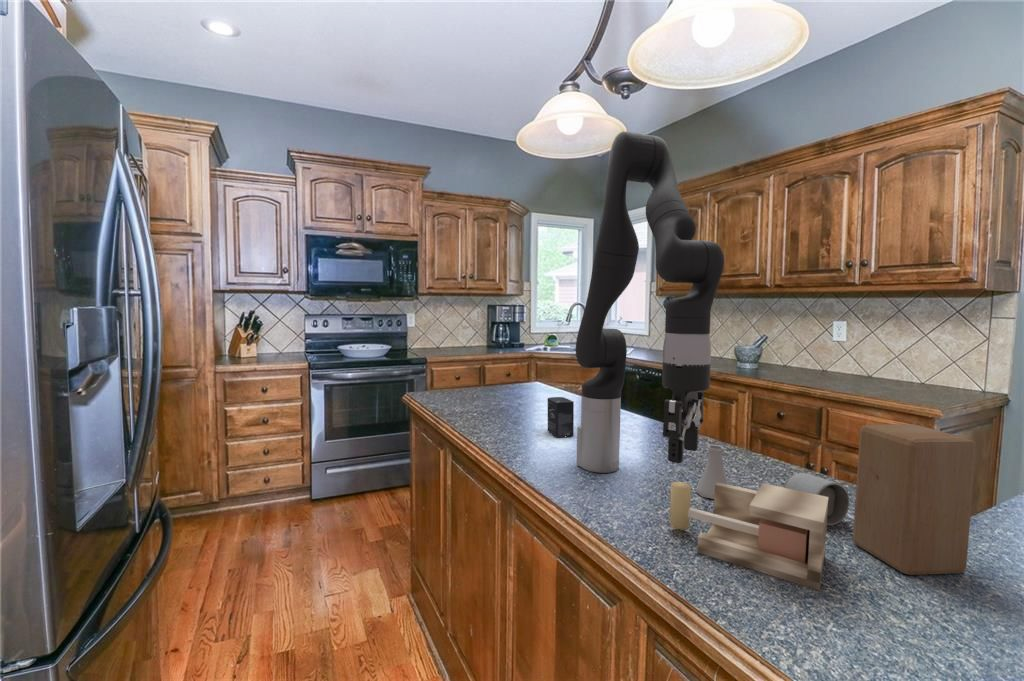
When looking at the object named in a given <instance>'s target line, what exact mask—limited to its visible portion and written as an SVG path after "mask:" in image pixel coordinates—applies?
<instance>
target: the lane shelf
mask: <svg viewBox="0 0 1024 681" xmlns="http://www.w3.org/2000/svg"><path fill="white" fill-rule="evenodd" d="M713 500H714V501H713V514H717V515H721V516H725V517H729V518H732V519H736V520H740V521H744V522H748V523H752V524H755V525H759V522H760V520H761V518H763V519H767V520H771V521H775V522H779V523H783V524H787V525H791V526H795V527H799V528H803V529H807V530H810V535H809V551H808V556H807V560H806V564H805V563H802V562H799V561H795V560H792V559H788V558H785V557H781V556H778V555H774V554H771V553H767V552H764V551H760V550H758V537H759V536H756V535H753V534H749V533H745V532H742V531H738V530H734V529H731V528H727V527H723V526H720V525H716V524H712V525H711V526H710V528H709V530H708V531H707V532H706V533H699V535H698V536H697V546H696V547H697V550H696V552H697V553H698V554H701V555H705V556H707V557H710V558H714V559H717V560H721V561H724V562H727V563H730V564H733V565H736V566H740V567H742V568H745V569H750V570H753V571H755V572H758V573H762V574H765V575H769V576H772V577H775V578H777V579H781V580H784V581H788V582H790V583H794V584H798V585H800V586H804V587H806V588H810V589H813V590H817V591H820V590H821V582H822V576H823V573H824V572H823V570H824V564H825V558H826V545H827V544H826V543H827V530H828V529H827V528H828V525H827V514H828V497H826V496H821V495H816V494H812V493H807V492H802V491H797V490H793V489H788V488H784V487H783V486H778V485H774V484H773V485H772V484H769V483H762V484H761V486H760V487H759V489H758V490H754V489H749V488H744V487H741V486H737V485H731V484H729V485H728V484H723V483H719V482H717V483H716V484H715V494H714V499H713Z"/></svg>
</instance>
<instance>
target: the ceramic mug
mask: <svg viewBox="0 0 1024 681" xmlns="http://www.w3.org/2000/svg"><path fill="white" fill-rule="evenodd" d="M783 488H788V489H793V490H797V491H802V492H807V493H812V494H816V495H821V496H826V497H828V514H827V527H829V526H836V525H838V524H840V523H841V522H842V521H843V520H844V519H845V517H846V516H847V514H848V512H849V510H850V509H849V507H850V495H849V493H848V491H847V490H846V488H845V487H844V486H843V485H842V484H840V483H838V482H835V481H833V480H832V481H831V480H830V479H826V478H822V477H819V476H816V475H814V474H810V473H804V472H798V473H794V474H793V475H791V476H790V477H788V479H787V480H786V482H785V484H784V487H783Z"/></svg>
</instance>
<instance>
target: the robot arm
mask: <svg viewBox="0 0 1024 681" xmlns="http://www.w3.org/2000/svg"><path fill="white" fill-rule="evenodd" d="M672 160H673V159H672V156H671V153H670V149H669V147H668V145H667V143H666V141H665V140H664V139H663V138H662V137H659V136H656V135H652V134H644V133H639V132H634V131H633V132H632V131H621V132H619V133H617V135H616V136H615V138H614V139H613V142H612V144H611V147H610V150H609V156H608V163H607V172H606V180H605V181H606V182H605V192H604V198H603V199H604V201H603V209H602V215H601V220H600V221H601V222H600V226H599V231H598V236H597V241H596V245H595V249H594V250H595V252H594V256H593V262H592V270H591V277H590V281H589V287H588V293H587V298H586V301H585V302H586V303H585V306H584V310H583V312H582V313H583V314H582V318H581V321H580V325H579V328H578V332H577V335H576V342H575V357H576V358H575V359H576V362H577V363H578V365H580V366H581V367H582V368H586V369H596V368H597V369H599V370H598V373H597V374H596V375H595V376H593V377H592V378H590V379H589V380H586V381H585V382H583V383H582V386H581V404H580V406H581V408H580V409H581V410H580V414H581V415H580V425H578V426H577V429H576V430H577V432H576V435H577V436H576V463H575V464H576V467H577V466H578V467H580V468H582V469H583V470H586V471H589V472H593V473H598V474H599V473H606V474H607V473H614V472H617V471H618V470H619V468H620V443H621V441H620V438H621V411H622V410H621V408H622V407H621V406H622V401H621V399H622V390H623V387H624V385H625V377H626V376H625V374H626V365H627V364H626V363H627V347H628V346H627V341H626V340H627V339H626V338H625V335H624V333H623V332H622V331H621V330H619V329H618V328H604V325H605V322H606V318H607V316H608V314H609V311H610V309H612V307H613V305H615V304H614V303H616V301H617V300H618V299H619V297H621V295H622V294H623V293H624V291H625V290H626V289H627V287H628V286H629V285H630V283H631V281H632V280H633V277H634V274H635V271H636V270H635V269H636V267H637V261H638V256H639V250H640V246H639V240H638V236H637V233H636V231H635V228H634V225H633V223H632V220H631V217H630V215H629V211H628V207H627V195H626V194H627V183H628V182H635V183H644V184H645V183H648V185H650V186H651V187H652V191H651V193H650V194H649V195H648V196H649V197H648V199H647V202H646V204H645V218H646V221H647V223H648V225H649V227H650V232H652V233H651V234H652V235H653V237H654V244H655V269H656V272H657V274H658V276H659V277H660V278H661V279H662V280H664V281H665V282H668V283H672V284H678V283H679V284H692V285H691V289H690V290H689V292H688V293H687V295H683V296H680V297H675V298H672V299H670V300H668V301H667V303H666V307H665V318H664V320H665V323H664V340H663V346H662V375H661V376H662V377H661V378H662V380H661V385H662V387H663V388H664V389H667V390H671V391H672V394H671V396H672V397H671V399H665V400H664V402H663V406H664V407H663V426H662V436H663V437H664V438H667V439H668V442H667V443H668V446H667V447H668V448H667V450H668V451H667V460H668V461H669V462H670V463H675V464H682V463H683V461H684V450H687V451H691V452H696V451H698V449H699V430H700V429H701V424H703V423H704V395H705V393H704V392H706V391H708V390H710V385H711V366H712V364H711V360H712V359H711V358H712V345H711V335H710V332H711V312H712V311H711V310H712V308H713V307H712V306H713V302H714V300H715V296H716V293H717V290H718V286H719V284H720V280H721V278H722V275H723V271H724V265H725V256H724V252H723V250H722V248H721V246H720V245H719V244H718V243H717V242H714V241H712V240H701V239H700V240H698V239H697V240H695V239H694V238H695V235H696V231H697V229H696V228H697V227H696V223H695V220H694V218H693V216H692V215H691V212H690V211H689V209H688V207H687V205H686V203H685V201H684V199H683V197H682V195H681V192H680V189H679V185H678V182H677V177H676V172H675V171H676V170H675V168H674V164H673V161H672ZM674 428H675V430H674Z"/></svg>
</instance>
